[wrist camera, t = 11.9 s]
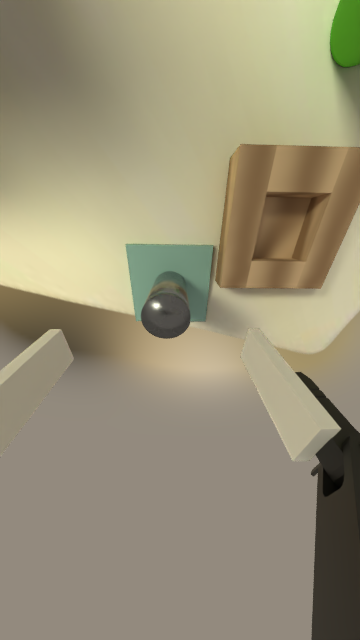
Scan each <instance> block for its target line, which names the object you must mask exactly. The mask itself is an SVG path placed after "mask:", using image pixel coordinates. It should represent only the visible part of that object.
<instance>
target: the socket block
mask: <svg viewBox="0 0 360 640" xmlns="http://www.w3.org/2000/svg"><path fill="white" fill-rule="evenodd" d="M359 203H360V147H325V146H288V145H251V144H240V146H239V147H238V149H237V150H236V151H235V153H234V154H233V155H232V157H231V158H230V164H229V172H228V180H227V188H226V197H225V205H224V213H223V221H222V229H221V238H220V246H219V254H218V262H217V270H216V279H215V281H216V282H217V284H218V285H219V286H220V288H318V289H321V287H322V285H323V283H324V280H325V278H326V276H327V274H328V272H329V269H330V267H331V265H332V263H333V261H334V258H335V256H336V254H337V252H338V250H339V247H340V245H341V243H342V241H343V238H344V236H345V234H346V232H347V230H348V227H349V225H350V223H351V221H352V219H353V216H354V214H355V212H356V210H357V208H358V205H359Z"/></svg>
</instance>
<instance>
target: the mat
mask: <svg viewBox="0 0 360 640" xmlns="http://www.w3.org/2000/svg"><path fill="white" fill-rule="evenodd" d="M126 251H127V258H128V265H129V273H130V280H131V287H132V295H133V302H134V310H135V317H136V321H141V311H142V308H143V306H144V304H145V301H146V299H147V297H148V295H149V293H150V291H151V288H152V286H153V284H154V282H155V280H156V278H157V277H158V276H159V275H160V274H161V273H163V272H166V271H173V272H176V273H178V274H180V275H181V276H182V277H183V279H184V280H185V283H186V288H187V295H188V302H189V308H190V315H191V319H190V321H205V320H206V311H207V301H208V292H209V282H210V273H211V263H212V253H213V245H159V244H126Z"/></svg>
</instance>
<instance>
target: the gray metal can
mask: <svg viewBox="0 0 360 640" xmlns="http://www.w3.org/2000/svg"><path fill="white" fill-rule="evenodd" d="M190 319H191V315H190V308H189V302H188V295H187V288H186V283H185V280H184V279H183V277H182V276H181V275H180V274H178V273H176V272H173V271H166V272H163V273H161V274H160V275H159V276H158V277H157V278H156V280H155V282H154V284H153V286H152V288H151V291H150V293H149V295H148V297H147V299H146V301H145V304H144V306H143V308H142V311H141V321H142V323H143V326H144V327H145V328H146V330H147V331H148V332H149V333H151V334H152V335H154V336H156V337H159V338H174V337H177V336H179V335H181V334H182V333H183V332H185V330H186V329H187V328H188V326H189V324H190Z"/></svg>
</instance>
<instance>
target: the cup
mask: <svg viewBox="0 0 360 640" xmlns="http://www.w3.org/2000/svg"><path fill="white" fill-rule="evenodd" d="M330 46H331V53H332V56H333V58H334V60H335V61H336V63H337V64H338V65H340V66H342V67H351V66H355V65H358V64H360V0H340V2H339V5H338V8H337V11H336V14H335V17H334V20H333V24H332V29H331V36H330Z"/></svg>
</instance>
